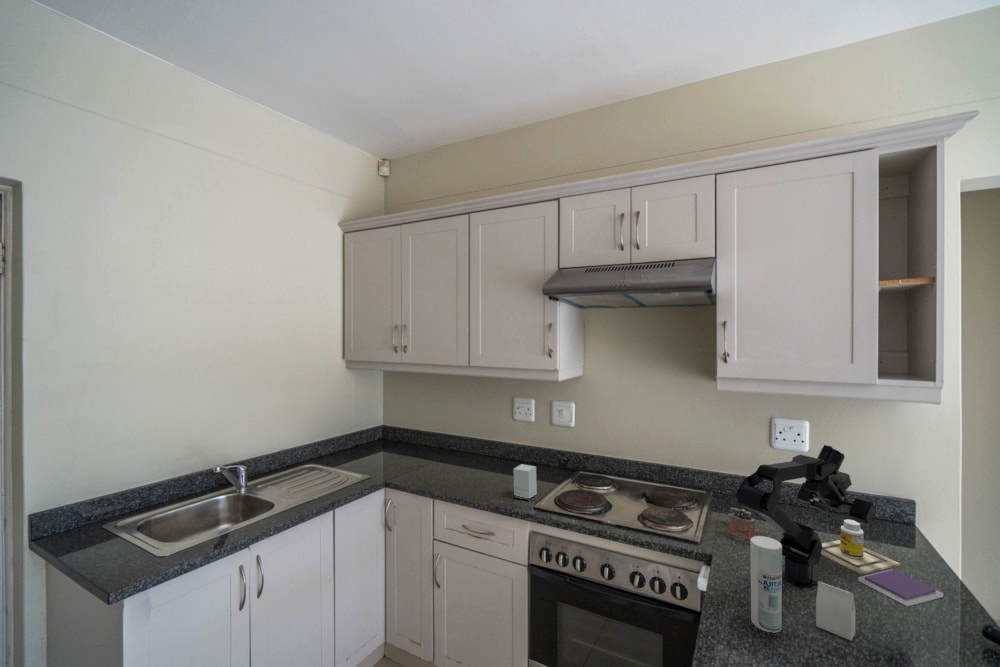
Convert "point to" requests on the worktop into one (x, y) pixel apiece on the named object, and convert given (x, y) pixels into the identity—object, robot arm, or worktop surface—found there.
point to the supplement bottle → (852, 539)
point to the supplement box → (525, 481)
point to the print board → (860, 566)
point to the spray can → (766, 583)
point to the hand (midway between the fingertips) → (844, 517)
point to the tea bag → (835, 610)
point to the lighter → (741, 525)
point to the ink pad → (900, 587)
